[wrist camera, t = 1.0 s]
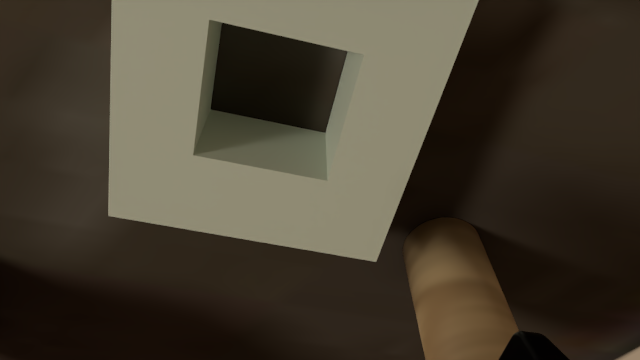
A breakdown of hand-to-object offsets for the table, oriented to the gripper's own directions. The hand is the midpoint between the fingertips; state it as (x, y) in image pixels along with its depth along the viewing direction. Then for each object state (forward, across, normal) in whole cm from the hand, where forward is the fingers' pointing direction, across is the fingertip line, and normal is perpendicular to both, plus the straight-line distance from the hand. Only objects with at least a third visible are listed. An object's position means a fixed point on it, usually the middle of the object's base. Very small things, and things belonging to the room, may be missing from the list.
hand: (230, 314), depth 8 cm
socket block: (+13, 0, +1) cm, 13 cm away
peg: (+13, -9, +8) cm, 18 cm away
